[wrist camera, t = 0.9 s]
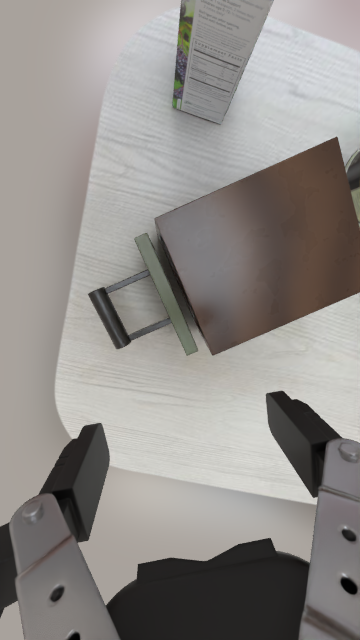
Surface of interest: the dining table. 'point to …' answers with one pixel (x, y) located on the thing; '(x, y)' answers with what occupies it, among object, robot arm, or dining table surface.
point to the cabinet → (266, 247)
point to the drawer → (165, 292)
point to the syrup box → (214, 52)
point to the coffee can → (354, 181)
